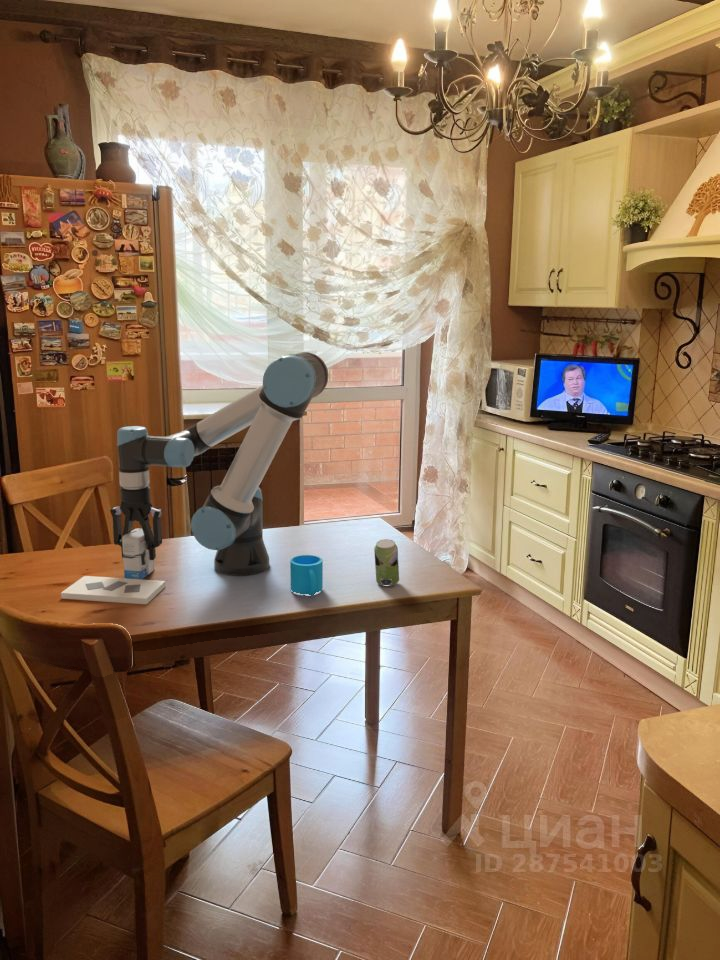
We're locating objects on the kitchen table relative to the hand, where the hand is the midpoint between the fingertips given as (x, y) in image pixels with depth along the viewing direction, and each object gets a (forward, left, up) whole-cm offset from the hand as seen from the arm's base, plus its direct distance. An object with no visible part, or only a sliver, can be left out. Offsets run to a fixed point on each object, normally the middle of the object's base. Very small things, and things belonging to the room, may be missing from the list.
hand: (139, 570), depth 203 cm
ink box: (0, 0, -2) cm, 2 cm away
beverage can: (-66, -4, -1) cm, 66 cm away
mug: (-47, +5, -2) cm, 47 cm away
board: (+1, +13, -1) cm, 13 cm away
